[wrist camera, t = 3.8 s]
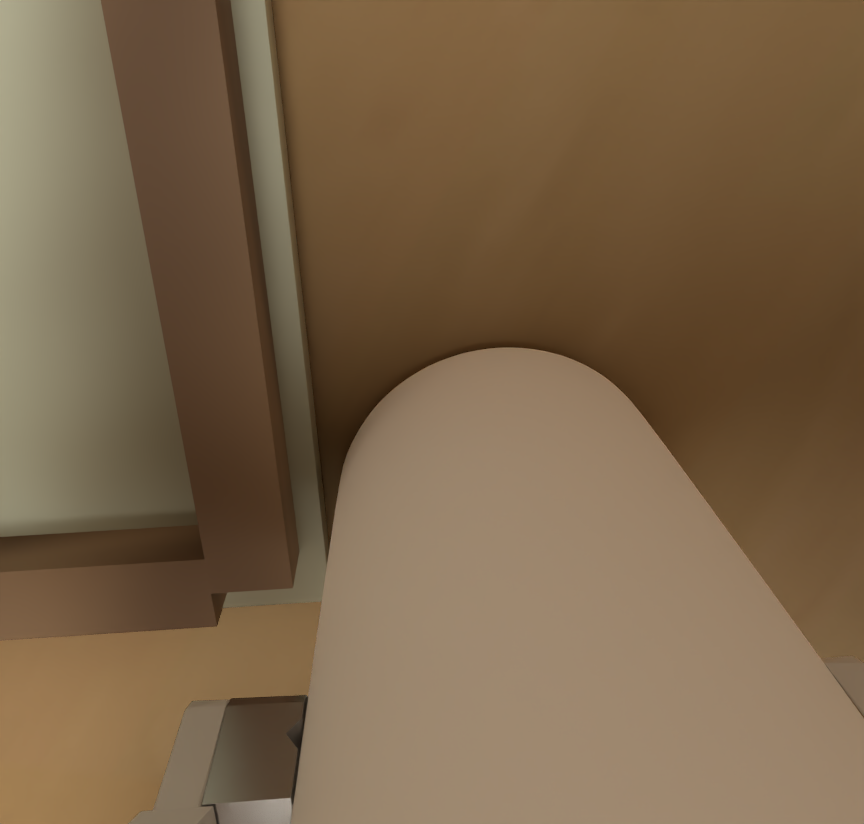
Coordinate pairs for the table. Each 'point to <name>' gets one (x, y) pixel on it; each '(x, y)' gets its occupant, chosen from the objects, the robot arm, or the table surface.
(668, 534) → the can
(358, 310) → the table surface
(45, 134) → the wooden picture frame
